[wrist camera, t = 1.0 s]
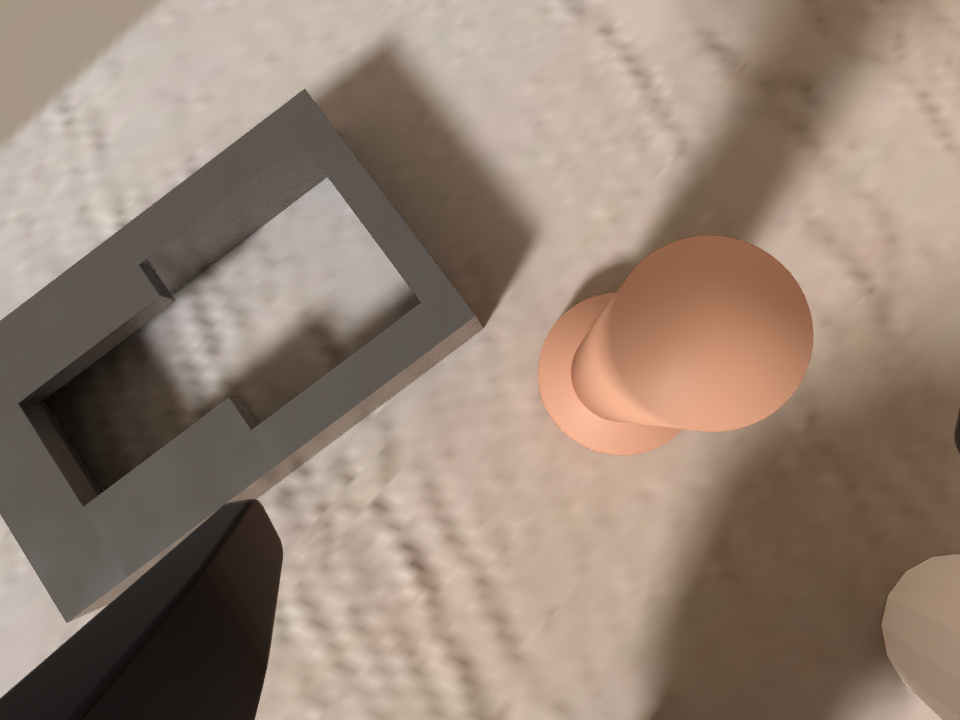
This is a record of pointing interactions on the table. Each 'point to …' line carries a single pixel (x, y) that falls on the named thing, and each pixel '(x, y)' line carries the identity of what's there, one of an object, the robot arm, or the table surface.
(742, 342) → the peg
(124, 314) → the keyhole plate
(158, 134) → the table surface
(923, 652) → the white cup
